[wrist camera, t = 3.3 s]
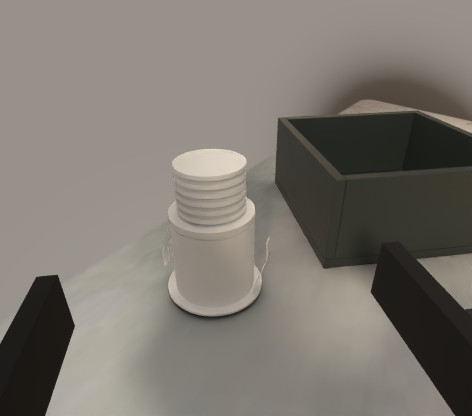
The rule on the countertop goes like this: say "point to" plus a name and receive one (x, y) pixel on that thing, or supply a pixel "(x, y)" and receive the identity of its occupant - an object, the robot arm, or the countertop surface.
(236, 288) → the downlight
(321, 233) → the dark grey open box
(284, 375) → the countertop surface
